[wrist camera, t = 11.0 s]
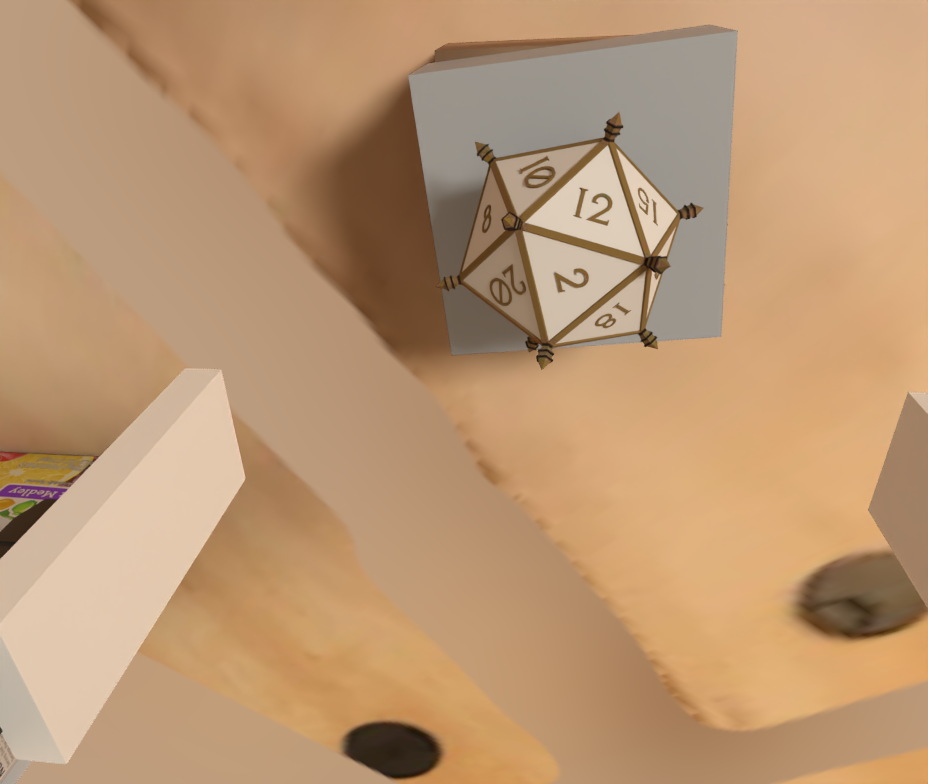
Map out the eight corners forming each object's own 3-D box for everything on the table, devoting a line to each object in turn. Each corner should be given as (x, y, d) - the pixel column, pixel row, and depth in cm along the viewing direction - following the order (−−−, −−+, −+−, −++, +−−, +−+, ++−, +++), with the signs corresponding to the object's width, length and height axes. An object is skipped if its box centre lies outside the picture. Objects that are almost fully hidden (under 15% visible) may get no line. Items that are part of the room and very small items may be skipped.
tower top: (428, 63, 31) (408, 75, 27) (710, 24, 29) (737, 30, 25) (463, 312, 37) (451, 355, 32) (700, 294, 35) (721, 336, 30)
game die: (568, 236, 33) (525, 431, 29) (437, 119, 28) (365, 335, 24) (754, 166, 26) (730, 407, 22) (625, -3, 21) (567, 268, 18)
